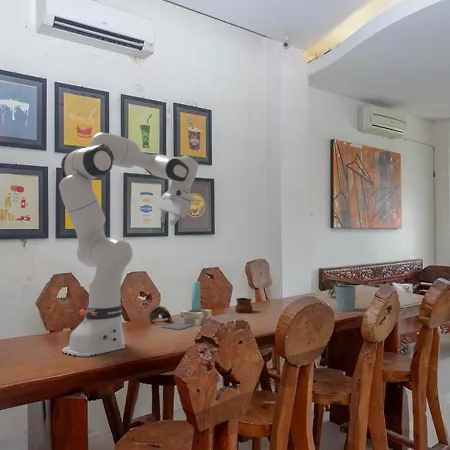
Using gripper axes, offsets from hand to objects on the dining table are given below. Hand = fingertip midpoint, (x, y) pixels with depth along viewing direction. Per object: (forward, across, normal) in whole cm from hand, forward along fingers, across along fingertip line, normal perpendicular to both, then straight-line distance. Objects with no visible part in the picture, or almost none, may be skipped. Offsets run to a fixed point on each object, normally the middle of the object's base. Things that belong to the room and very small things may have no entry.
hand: (166, 222), depth 195 cm
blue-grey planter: (+9, +33, +96) cm, 102 cm away
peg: (+37, +8, +28) cm, 47 cm away
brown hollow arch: (+43, -3, +18) cm, 47 cm away
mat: (+40, +12, +17) cm, 45 cm away
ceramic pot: (+29, +3, +59) cm, 66 cm away
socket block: (+37, +8, +28) cm, 47 cm away
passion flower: (+6, +4, +126) cm, 126 cm away
